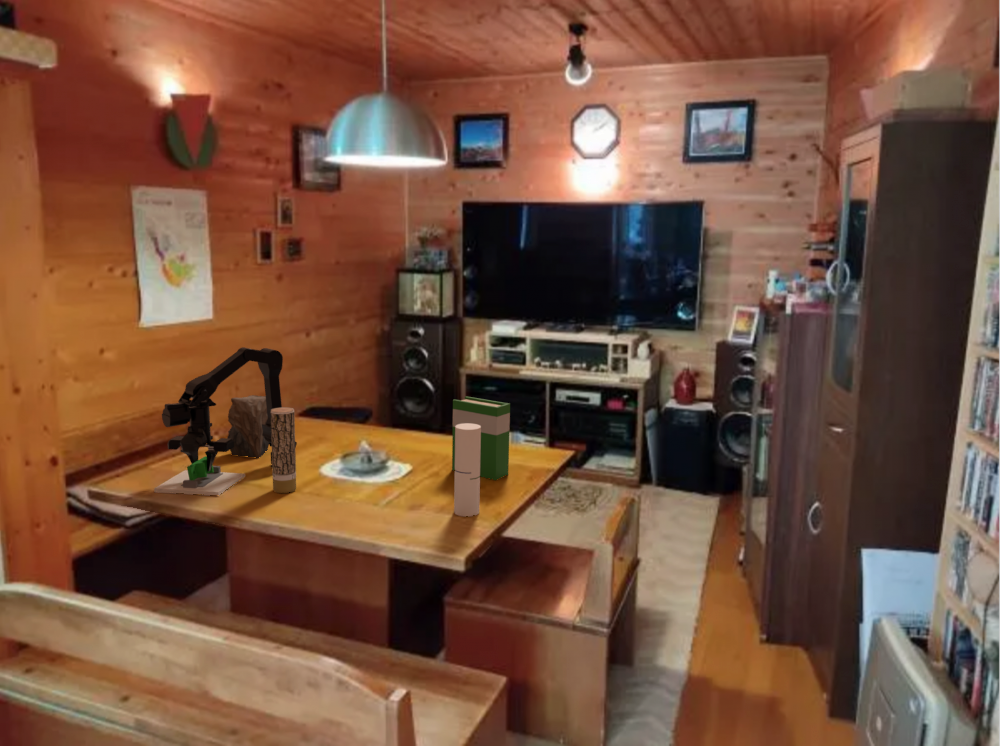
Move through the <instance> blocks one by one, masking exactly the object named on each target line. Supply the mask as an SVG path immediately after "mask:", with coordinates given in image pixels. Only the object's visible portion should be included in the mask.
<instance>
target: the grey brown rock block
mask: <svg viewBox="0 0 1000 746" xmlns="http://www.w3.org/2000/svg"><path fill="white" fill-rule="evenodd" d="M230 401H231V406H230V408H229V409H228V414H227V418H228V419H227V421H228V422H229V423H230V425H231V427H230V428H229V430H228V435H227V437H226V438H229V439H232V440H233V441H234V447H233V448H232V449H230V450H229V451H230V455H231V454H232V455H238V456H237V457H240V456H248V457H256V458H255V459H260V458H262V456H263V455H264V453H265V454H266V452H265V451H267V450H269V446H270V445H269V442H268V441H266V440H265V438H264V436H262V434H263V429H262V424H266V422H267V419H268V416H267V406H266V395H265V396H264V395H263V396H262V395H256V394H255V395H254V394H252V395H248V396H245V397H244V396H243V397H232V398H230ZM267 452H268V451H267ZM232 455H231V456H232ZM248 457H247V458H248ZM259 457H260V458H259Z"/></svg>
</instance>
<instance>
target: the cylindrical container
mask: <svg viewBox="0 0 1000 746" xmlns="http://www.w3.org/2000/svg"><path fill="white" fill-rule="evenodd" d="M480 449H481V426H480V425H478V424H471V423H464V424H458V425H456V426H455V471H454V488H453V489H454V490H453V492H454V497H453V500H454V501H453V502H454V503H453V506H454V507H453V513H454V514H455V515H456V516H459V517H466V516H468V517H474V516H473V515H475V516H477V515H479V513H480V500H481V499H480V495H481V493H480V492H481V489H480V487H481V477H480Z"/></svg>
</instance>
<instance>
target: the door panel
mask: <svg viewBox="0 0 1000 746" xmlns="http://www.w3.org/2000/svg"><path fill="white" fill-rule="evenodd" d="M213 469H214V472H213V473H208V474H207V477H201V478H197V479H195V480H189V475H188V470H187V469H185V470H183V471H180V472H179V473H178V474H176V475H174V476H172V477H171V478H169V479H167V480H166V481H164V482H163V483H161V484H159V485H157V486H156V487H154V488H153V492H154V493H159V494H160V493H161V494H176V493H184V494H183V495H193V494H202V495H201V496H210V495H219V496H221V495H222V494H223V492H224V491H225V490H226V489H228V488H229V487H230V486H232V485H233V484H235V483H236V482H238V481H239V480H240V481H242V480H243V479H245V478H246V473H242V472H241V473H240V472H226V471H225V472H224V471H223V472H222V469H221V465H213ZM244 477H245V478H244ZM242 478H243V479H242ZM241 479H242V480H241ZM240 481H239V482H240ZM239 482H238V483H239ZM236 484H237V483H236ZM236 484H235V485H236ZM233 486H234V485H233ZM233 486H232V487H233ZM229 489H230V488H229ZM229 489H228V490H229ZM226 491H227V490H226ZM226 491H225V492H226ZM225 492H224V493H225ZM221 493H222V494H221ZM203 494H204V495H203ZM220 494H221V495H220Z"/></svg>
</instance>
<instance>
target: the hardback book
mask: <svg viewBox="0 0 1000 746" xmlns="http://www.w3.org/2000/svg"><path fill="white" fill-rule="evenodd" d="M510 416H511V403H510V402H509V403H508V402H502V401H498V400H497V401H496V400H490V399H484V398H477V397H474V396H473V397H471V396H464V399H461V400H460V399H453V400H452V443H451V444H452V445H451V446H452V448H451V449H452V450H451V451H452V452H451V453H452V454H451V455H452V456H451V457H452V459H451V462H452V463H451V470H452V471H454V470H455V426H456V425H458V424H464V423H471V424H478V425H480V426H481V449H480V476H481V477H480V478H483V477H485V478H484V479H487V478H490V479H489V480H491V479H493V480H492V481H498V480H500V479H502V478H504V477H503V476H505V475H507V476H509V461H510V460H509V459H510V458H509V457H510V424H511V417H510ZM501 477H502V478H501ZM505 477H506V476H505ZM499 478H500V479H499ZM497 479H498V480H497Z"/></svg>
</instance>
